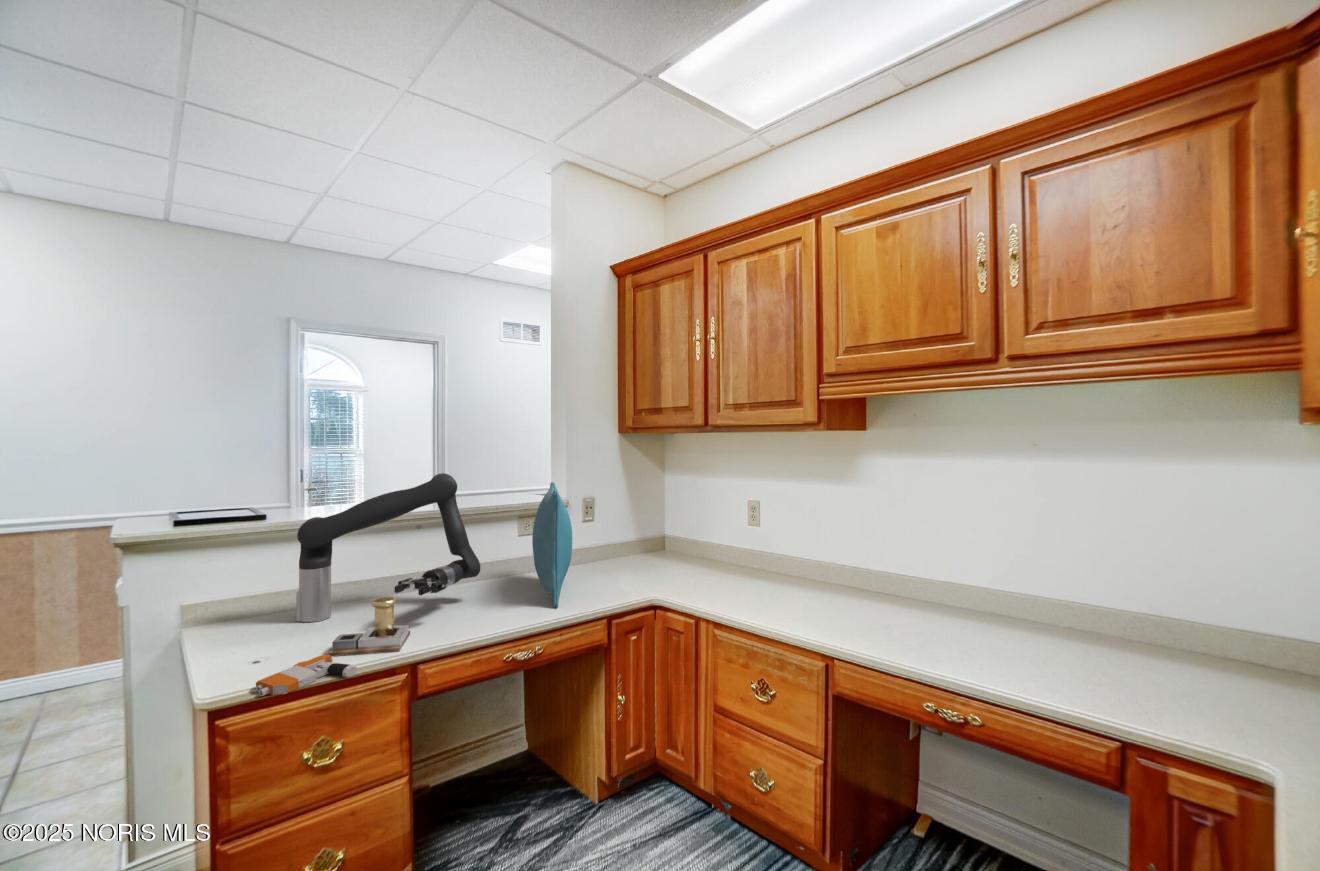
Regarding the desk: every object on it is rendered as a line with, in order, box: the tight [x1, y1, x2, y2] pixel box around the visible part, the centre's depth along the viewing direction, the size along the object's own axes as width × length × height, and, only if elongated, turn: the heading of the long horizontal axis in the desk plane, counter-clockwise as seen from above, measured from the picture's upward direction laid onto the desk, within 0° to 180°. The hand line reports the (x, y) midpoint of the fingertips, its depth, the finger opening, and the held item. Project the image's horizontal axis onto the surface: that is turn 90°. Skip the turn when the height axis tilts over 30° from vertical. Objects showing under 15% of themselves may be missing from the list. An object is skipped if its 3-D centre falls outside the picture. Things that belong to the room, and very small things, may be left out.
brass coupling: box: [371, 595, 397, 637], centre depth 168 cm, size 6×6×12 cm
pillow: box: [531, 481, 573, 609], centre depth 224 cm, size 43×15×42 cm, turn 12°
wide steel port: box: [358, 624, 410, 649], centre depth 168 cm, size 11×11×2 cm
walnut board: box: [328, 630, 411, 657], centre depth 168 cm, size 18×15×1 cm
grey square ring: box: [331, 632, 364, 651], centre depth 164 cm, size 6×6×2 cm
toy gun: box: [255, 654, 358, 697], centre depth 143 cm, size 3×19×15 cm
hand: (407, 590), depth 180 cm, fingers open, 8 cm apart
